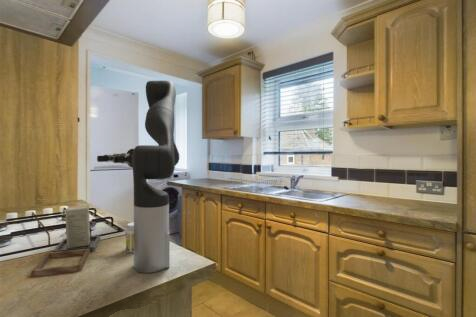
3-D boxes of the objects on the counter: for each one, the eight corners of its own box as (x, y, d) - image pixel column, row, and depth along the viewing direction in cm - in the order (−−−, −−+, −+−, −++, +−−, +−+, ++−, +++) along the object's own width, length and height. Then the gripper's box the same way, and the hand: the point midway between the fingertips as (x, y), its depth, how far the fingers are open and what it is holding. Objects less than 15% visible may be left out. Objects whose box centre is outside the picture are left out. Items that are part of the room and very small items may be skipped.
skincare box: (90, 241, 88) (90, 205, 88) (89, 245, 84) (88, 208, 84) (67, 243, 86) (67, 206, 85) (65, 248, 82) (65, 209, 81)
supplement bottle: (144, 247, 85) (144, 221, 85) (137, 253, 81) (137, 226, 80) (130, 246, 86) (130, 221, 86) (122, 252, 81) (122, 225, 81)
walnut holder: (89, 253, 80) (89, 248, 80) (80, 270, 69) (80, 265, 69) (48, 257, 76) (47, 252, 76) (31, 276, 65) (31, 271, 65)
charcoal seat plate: (100, 239, 92) (100, 235, 92) (94, 251, 81) (94, 247, 81) (63, 242, 88) (63, 238, 88) (52, 255, 78) (52, 251, 78)
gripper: (128, 148, 110) (92, 148, 95) (154, 149, 104) (120, 149, 89) (128, 166, 110) (92, 168, 96) (154, 167, 104) (120, 171, 90)
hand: (105, 159), depth 93 cm, fingers open, 8 cm apart
